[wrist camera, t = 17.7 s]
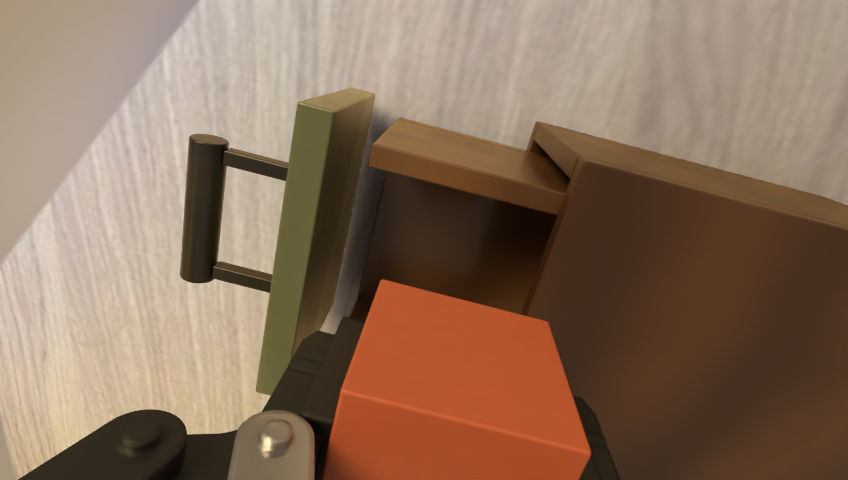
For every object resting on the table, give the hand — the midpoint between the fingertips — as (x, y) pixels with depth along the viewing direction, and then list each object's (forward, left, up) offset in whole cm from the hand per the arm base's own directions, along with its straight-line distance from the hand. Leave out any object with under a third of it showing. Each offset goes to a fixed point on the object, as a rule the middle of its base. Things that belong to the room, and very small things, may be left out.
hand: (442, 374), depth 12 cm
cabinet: (+8, +5, -14) cm, 17 cm away
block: (0, 0, 0) cm, 0 cm away
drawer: (-1, -2, -13) cm, 13 cm away
